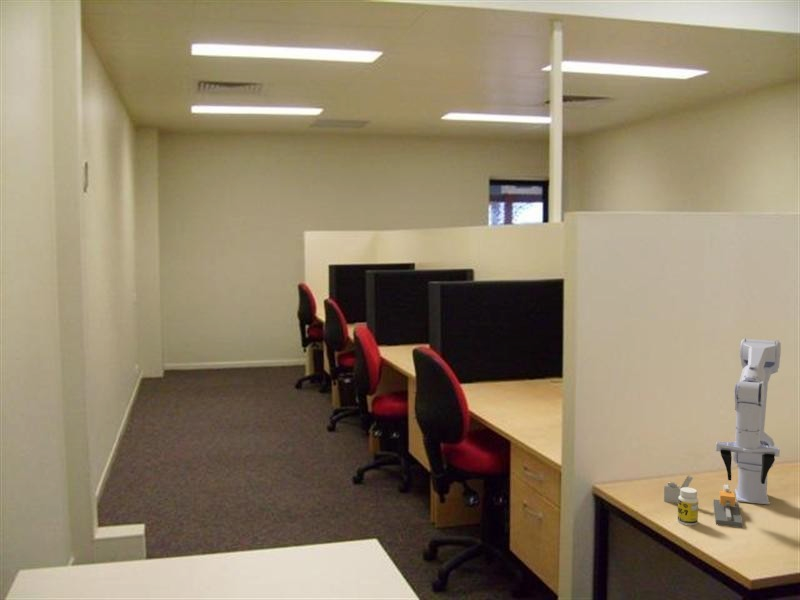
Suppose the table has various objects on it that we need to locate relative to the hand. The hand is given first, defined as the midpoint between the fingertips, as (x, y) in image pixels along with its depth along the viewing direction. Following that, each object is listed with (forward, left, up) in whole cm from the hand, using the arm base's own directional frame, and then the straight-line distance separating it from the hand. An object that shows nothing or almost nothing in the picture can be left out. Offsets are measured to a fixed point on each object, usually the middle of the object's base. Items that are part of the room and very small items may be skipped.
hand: (745, 480), depth 189 cm
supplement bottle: (+7, -14, -10) cm, 18 cm away
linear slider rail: (-1, -4, -10) cm, 11 cm away
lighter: (-6, -16, -10) cm, 20 cm away
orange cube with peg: (-3, -4, -7) cm, 9 cm away
